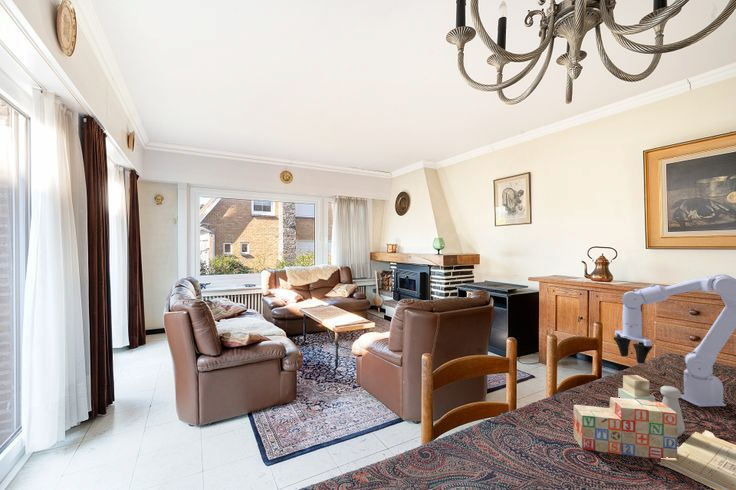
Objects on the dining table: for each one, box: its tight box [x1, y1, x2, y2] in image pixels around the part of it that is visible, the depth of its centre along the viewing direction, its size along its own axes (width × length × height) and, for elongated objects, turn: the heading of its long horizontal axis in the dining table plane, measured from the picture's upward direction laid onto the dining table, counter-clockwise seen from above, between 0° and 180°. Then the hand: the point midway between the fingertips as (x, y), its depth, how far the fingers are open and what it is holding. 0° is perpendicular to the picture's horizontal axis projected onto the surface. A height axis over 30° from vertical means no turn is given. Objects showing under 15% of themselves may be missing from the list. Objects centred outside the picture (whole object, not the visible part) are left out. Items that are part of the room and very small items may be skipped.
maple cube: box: [622, 374, 650, 396], centre depth 114 cm, size 5×5×5 cm
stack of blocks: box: [572, 396, 678, 460], centre depth 89 cm, size 21×6×12 cm, turn 76°
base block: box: [617, 387, 656, 402], centre depth 114 cm, size 7×7×3 cm
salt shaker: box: [659, 385, 686, 438], centre depth 95 cm, size 6×6×13 cm
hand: (632, 359), depth 126 cm, fingers open, 7 cm apart
